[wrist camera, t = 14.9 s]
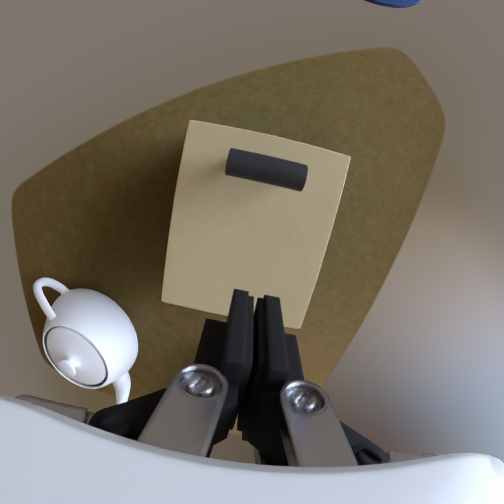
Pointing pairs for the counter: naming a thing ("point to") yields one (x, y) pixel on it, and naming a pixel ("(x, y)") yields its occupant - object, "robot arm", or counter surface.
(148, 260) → the counter surface
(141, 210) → the counter surface
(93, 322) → the teapot
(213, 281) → the lid
